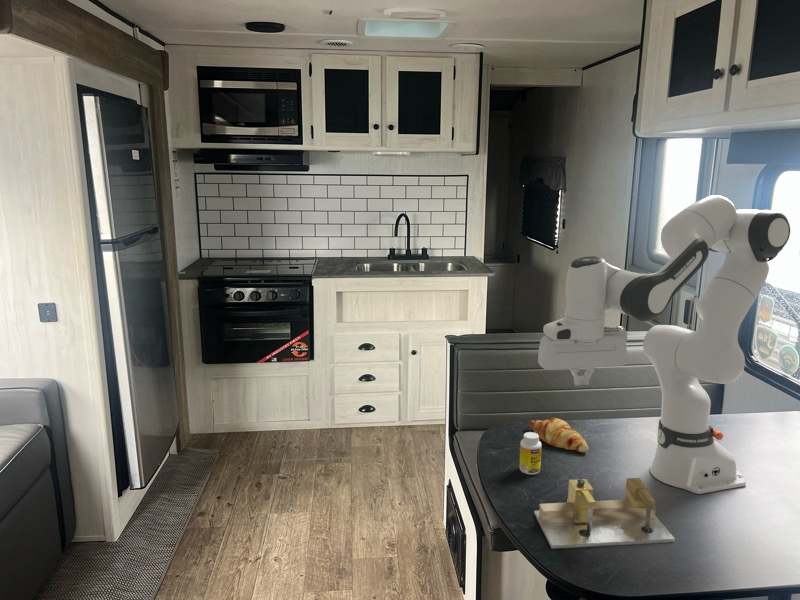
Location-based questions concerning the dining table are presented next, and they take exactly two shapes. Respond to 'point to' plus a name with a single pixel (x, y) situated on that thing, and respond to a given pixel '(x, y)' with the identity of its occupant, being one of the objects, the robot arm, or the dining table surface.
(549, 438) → the croissant
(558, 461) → the dining table surface
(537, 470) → the supplement bottle
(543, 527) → the flange plate
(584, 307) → the robot arm
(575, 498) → the sliding leg
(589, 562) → the dining table surface
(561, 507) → the trammel beam
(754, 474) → the dining table surface
